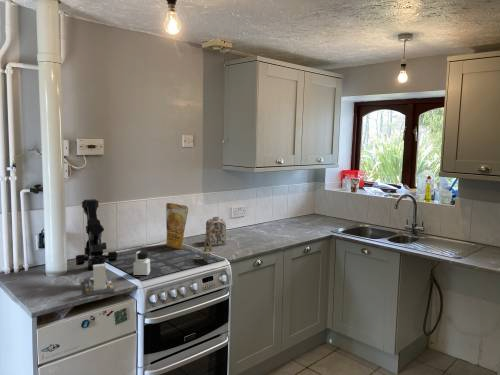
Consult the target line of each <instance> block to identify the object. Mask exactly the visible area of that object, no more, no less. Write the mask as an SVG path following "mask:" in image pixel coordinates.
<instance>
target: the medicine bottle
mask: <svg viewBox="0 0 500 375" xmlns="http://www.w3.org/2000/svg"><path fill="white" fill-rule="evenodd" d="M132 264H133V276H134V275H148V276H149V274H150V272H151V259H150V258H149V253H148V251H146V250H139V251H136V252H135V261H133V263H132Z"/></svg>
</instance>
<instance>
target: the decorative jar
mask: <svg viewBox="0 0 500 375" xmlns="http://www.w3.org/2000/svg"><path fill="white" fill-rule="evenodd" d="M209 237H210V246H224V245H227V225H226V222H225V220H224V218H223V219H222V218H220V217H219V216H213V217H212V218H209V219H208V220H207V221H206V222H205V239H207V244H208V245H209Z"/></svg>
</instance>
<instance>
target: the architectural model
mask: <svg viewBox="0 0 500 375" xmlns="http://www.w3.org/2000/svg"><path fill="white" fill-rule="evenodd" d="M207 244H208V243H207V239H206V238H204V246H200V247H199V249H200V252H201V253H202V260H203V261H204V262H205V263H206V262H207V263H208V259H209V257H210V255H211V254H215V253H216V251H215V249H214V248H213V245H211V246H210V237H209V244H208V246H207ZM207 258H208V259H207Z"/></svg>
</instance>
